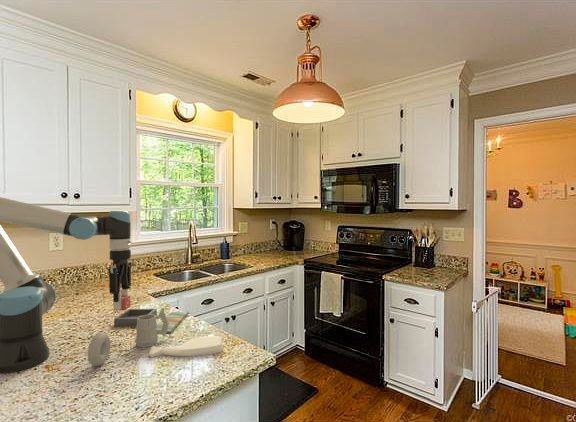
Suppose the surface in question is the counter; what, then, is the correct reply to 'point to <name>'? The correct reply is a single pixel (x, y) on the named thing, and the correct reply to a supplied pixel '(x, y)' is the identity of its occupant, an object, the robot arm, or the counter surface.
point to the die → (125, 302)
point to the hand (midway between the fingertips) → (120, 307)
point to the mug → (150, 329)
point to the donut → (99, 349)
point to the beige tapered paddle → (191, 347)
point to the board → (173, 320)
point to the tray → (132, 316)
